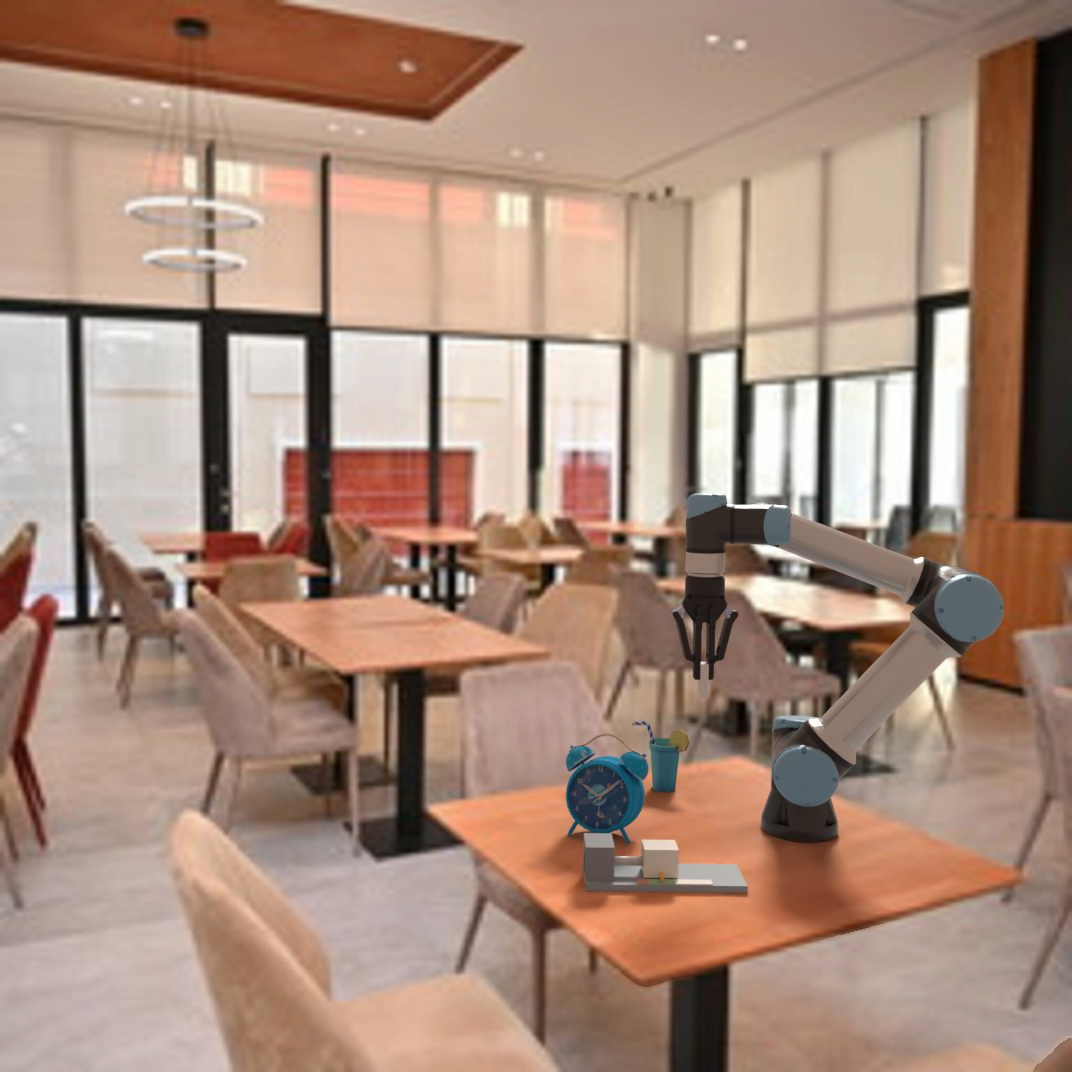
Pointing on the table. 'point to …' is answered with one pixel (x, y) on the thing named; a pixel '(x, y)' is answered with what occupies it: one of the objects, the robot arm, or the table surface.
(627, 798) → the alarm clock
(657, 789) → the cup
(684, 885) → the gauge board
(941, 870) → the table surface
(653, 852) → the plunger
